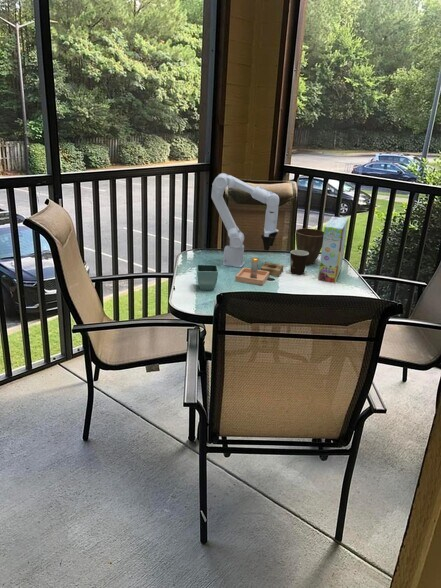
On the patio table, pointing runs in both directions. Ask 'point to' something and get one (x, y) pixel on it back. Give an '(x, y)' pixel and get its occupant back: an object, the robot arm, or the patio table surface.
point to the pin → (254, 268)
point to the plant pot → (309, 243)
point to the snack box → (333, 249)
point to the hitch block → (273, 269)
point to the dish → (245, 277)
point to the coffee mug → (298, 261)
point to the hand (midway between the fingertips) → (268, 247)
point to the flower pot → (207, 276)
